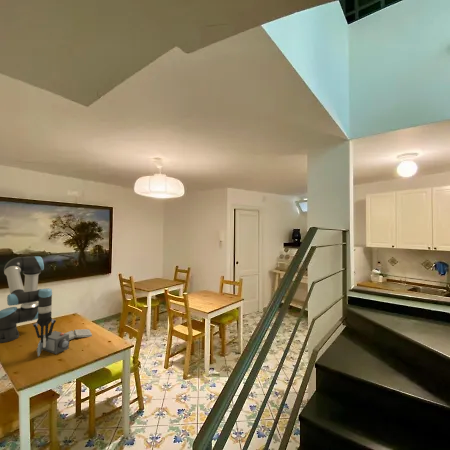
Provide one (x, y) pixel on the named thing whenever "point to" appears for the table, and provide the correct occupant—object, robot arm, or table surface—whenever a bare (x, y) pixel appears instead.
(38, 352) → the door
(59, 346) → the cam body
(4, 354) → the table surface
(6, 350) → the table surface
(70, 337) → the gadget
